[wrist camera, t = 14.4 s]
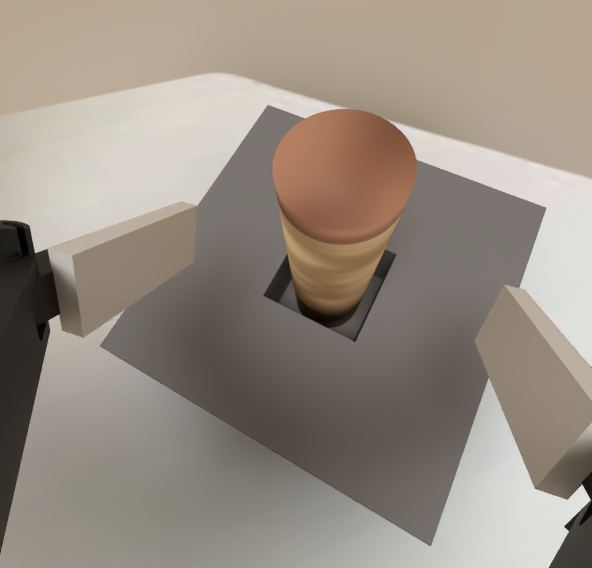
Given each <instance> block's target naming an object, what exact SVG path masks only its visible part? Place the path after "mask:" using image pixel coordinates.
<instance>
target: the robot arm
mask: <svg viewBox="0 0 592 568" xmlns="http://www.w3.org/2000/svg"><path fill="white" fill-rule="evenodd" d="M196 215H197V206H196V205H193V204H189V203H185V202H179V203H176V204H173V205H170V206H167V207H164V208H162V209H159V210H156V211H153V212H150V213H147V214H144V215H142V216H139V217H136V218H133V219H130V220H127V221H124V222H122V223H119V224H116V225H113V226H110V227H107V228H104V229H102V230H99V231H96V232H93V233H90V234H87V235H85V236H82V237H79V238H76V239H73V240H70V241H67V242H65V243H62V244H59V245H56V246H53V247H50V248H48V249H46V250H44V251H41V252H38V253H35V251H34V246H33V241H32V236H31V231H30V226H29V225H27V224H25V223H22V222H17V221H6V220H1V221H0V553H1V548H2V544H3V539H4V535H5V530H6V526H7V521H8V517H9V512H10V508H11V504H12V499H13V495H14V490H15V486H16V481H17V477H18V472H19V468H20V463H21V459H22V454H23V450H24V445H25V441H26V437H27V432H28V428H29V423H30V419H31V414H32V410H33V405H34V401H35V396H36V392H37V387H38V383H39V379H40V374H41V370H42V365H43V361H44V356H45V352H46V347H47V343H48V338H49V334H50V327H49V322H48V320H50V319H52V318H53V317H55V316H57V315H60V321H61V327H62V331H65V332H68V333H71V334H74V335H77V336H80V337H83V338H84V337H85V336H87V335H88V334H90V333H91V332H93V331H94V330H95V329H97V328H98V327H100V326H101V325H103V324H104V323H106V322H107V321H109V320H110V319H111V318H113V317H114V316H116V315H117V314H119V313H120V312H122V311H123V310H125V309H126V308H128V307H129V306H130V305H132V304H133V303H135V302H136V301H138V300H139V299H141V298H142V297H144V296H145V295H147V294H148V293H149V292H151V291H152V290H154V289H155V288H157V287H158V286H160V285H161V284H163V283H164V282H165V281H167V280H168V279H170V278H171V277H173V276H174V275H176V274H177V273H179V272H180V271H182V270H183V269H184V268H186V267H187V266H189V265H190V264H192V263H193V262H195V238H196ZM474 341H475V344H476V346H477V349H478V351H479V353H480V356H481V358H482V361H483V363H484V366H485V368H486V371H487V373H488V375H489V378H490V380H491V383H492V385H493V388H494V390H495V392H496V395H497V397H498V400H499V402H500V405H501V407H502V410H503V412H504V414H505V417H506V419H507V422H508V424H509V427H510V429H511V431H512V434H513V436H514V439H515V441H516V444H517V446H518V448H519V451H520V453H521V456H522V458H523V461H524V463H525V466H526V468H527V470H528V473H529V475H530V478H531V480H532V483H533V485H534V487H535V489H537V490H540V491H543V492H546V493H549V494H552V495H555V496H558V497H561V498H564V499H567V500H568V499H569V498H570V496H571V495H572V494H573V493H574V492H575V491H576V490H577V489H578V488H579V487H580V486H581V485H583V486H584V488H585V490H586V492H587V494H588V496H589V497H590V499H591V501H590V502H589V503H588V504H587V505H586V506H584V507H583V508H582V509H581V510H580V511H579V512H578V513H577V514H576V515H575V516H574V517H573V518H572V519H571V520H570V521H569V522H568V523H567V524H566V525H565V526H564V527H565V528H566V529H567V530H568V531H569V533H568V534H567V536H566V538H565V540H564V542H563V543H562V545H561V547H560V549H559V550H558V552H557V554H556V556H555V558H554V559H553V561H552V563H551V565H550V566H549V568H592V367H591V366H590V365H589V364H588V363H587V362H586V361H585V360H584V358H583V357H582V356H581V355H580V354H579V353H578V351H577V350H576V349H575V348H574V347H573V346H572V344H571V343H570V342H569V341H568V340H567V339H566V337H565V336H564V335H563V334H562V333H561V332H560V330H559V329H558V328H557V327H556V326H555V324H554V323H553V322H552V321H551V320H550V319H549V317H548V316H547V315H546V314H545V313H544V312H543V310H542V309H541V308H540V307H539V306H538V305H537V303H536V302H535V301H534V300H533V299H532V298H531V296H530V295H529V294H528V293H527V292H526V291H525V290H524V289H520V288H516V287H512V286H508V285H504V286H503V288H502V290H501V291H500V293H499V295H498V297H497V299H496V301H495V303H494V305H493V307H492V308H491V310H490V312H489V314H488V316H487V318H486V320H485V322H484V323H483V325H482V327H481V329H480V331H479V333H478V335H477V337H476V338H475V340H474Z"/></svg>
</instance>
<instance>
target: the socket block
mask: <svg viewBox="0 0 592 568" xmlns="http://www.w3.org/2000/svg"><path fill="white" fill-rule="evenodd" d="M304 119H305V118H302V117H299V116H296V115H294V114H291V113H288V112H286V111H283V110H280V109H278V108H275V107H272V106H269V105H268V106H267V107H266V108H265V110H264V111H263V113H262V114H261V116H260V117H259V119H258V120H257V121H256V123H255V124H254V126H253V127H252V129H251V130H250V131H249V133H248V134H247V136H246V137H245V139H244V140H243V141H242V143H241V144H240V146H239V147H238V149H237V150H236V152H235V153H234V154H233V156H232V157H231V159H230V160H229V162H228V163H227V164H226V166H225V167H224V169H223V170H222V172H221V173H220V174H219V176H218V177H217V179H216V180H215V182H214V183H213V185H212V186H211V187H210V189H209V190H208V192H207V193H206V195H205V196H204V197H203V199H202V200H201V202H200V203H199V205H198V206H197V215H196V238H195V262H193V263H192V264H190V265H189V266H187V267H186V268H184V269H183V270H182V271H180V272H179V273H177V274H176V275H174V276H173V277H171V278H170V279H168V280H167V281H165V282H164V283H163V284H161V285H160V286H158V287H157V288H155V289H154V290H152V291H151V292H149V293H148V294H147V295H145V296H144V297H142V298H141V299H139V300H138V301H136V302H135V303H133V304H132V305H130V306H129V307H128V308H126V309H125V311H124V312H123V314H122V315H121V317H120V318H119V319H118V321H117V322H116V324H115V325H114V327H113V328H112V329H111V331H110V332H109V334H108V335H107V337H106V338H105V340H104V341H103V342H102V344H101V345H100V347H102V348H104V349H105V350H107V351H109V352H110V353H112V354H114V355H115V356H117V357H119V358H120V359H122V360H123V361H125V362H127V363H128V364H130V365H132V366H133V367H135V368H137V369H138V370H140V371H142V372H143V373H145V374H147V375H148V376H150V377H152V378H153V379H155V380H157V381H158V382H160V383H161V384H163V385H165V386H166V387H168V388H170V389H171V390H173V391H175V392H176V393H178V394H180V395H181V396H183V397H185V398H186V399H188V400H190V401H191V402H193V403H195V404H196V405H198V406H199V407H201V408H203V409H204V410H206V411H208V412H209V413H211V414H213V415H214V416H216V417H218V418H219V419H221V420H223V421H224V422H226V423H228V424H229V425H231V426H233V427H234V428H236V429H238V430H239V431H241V432H242V433H244V434H246V435H247V436H249V437H251V438H252V439H254V440H256V441H257V442H259V443H261V444H262V445H264V446H266V447H267V448H269V449H271V450H272V451H274V452H276V453H277V454H279V455H280V456H282V457H284V458H285V459H287V460H289V461H290V462H292V463H294V464H295V465H297V466H299V467H300V468H302V469H304V470H305V471H307V472H309V473H310V474H312V475H314V476H315V477H317V478H318V479H320V480H322V481H323V482H325V483H327V484H328V485H330V486H332V487H333V488H335V489H337V490H338V491H340V492H342V493H343V494H345V495H347V496H348V497H350V498H352V499H353V500H355V501H356V502H358V503H360V504H361V505H363V506H365V507H366V508H368V509H370V510H371V511H373V512H375V513H376V514H378V515H380V516H381V517H383V518H385V519H386V520H388V521H390V522H391V523H393V524H395V525H396V526H398V527H399V528H401V529H403V530H404V531H406V532H408V533H409V534H411V535H413V536H414V537H416V538H418V539H419V540H421V541H423V542H424V543H426V544H428V545H429V546H431V544H432V541H433V538H434V536H435V533H436V530H437V527H438V524H439V521H440V518H441V515H442V512H443V509H444V506H445V503H446V500H447V497H448V495H449V492H450V489H451V486H452V483H453V480H454V477H455V474H456V471H457V468H458V465H459V462H460V459H461V456H462V454H463V451H464V448H465V445H466V442H467V439H468V436H469V433H470V430H471V427H472V424H473V421H474V418H475V416H476V413H477V410H478V407H479V404H480V401H481V398H482V395H483V392H484V389H485V386H486V383H487V380H488V377H489V375H488V373H487V371H486V368H485V366H484V363H483V361H482V358H481V356H480V353H479V351H478V349H477V346H476V344H475V341H474V340H475V338H476V337H477V335H478V333H479V331H480V329H481V327H482V325H483V323H484V322H485V320H486V318H487V316H488V314H489V312H490V310H491V308H492V307H493V305H494V303H495V301H496V299H497V297H498V295H499V293H500V291H501V290H502V288H503V286H504V285H508V286H512V287H516V288H519V287H520V284H521V281H522V278H523V275H524V272H525V269H526V266H527V263H528V260H529V257H530V255H531V252H532V249H533V246H534V243H535V240H536V237H537V234H538V231H539V228H540V225H541V222H542V219H543V216H544V214H545V211H546V208H545V207H543V206H540V205H537V204H534V203H532V202H529V201H526V200H524V199H521V198H518V197H516V196H513V195H510V194H507V193H505V192H502V191H499V190H497V189H494V188H491V187H488V186H486V185H483V184H480V183H478V182H475V181H472V180H470V179H467V178H464V177H461V176H459V175H456V174H453V173H451V172H448V171H445V170H442V169H440V168H437V167H434V166H432V165H429V164H426V163H424V162H421V161H418V160H416V161H417V177H416V182H415V185H414V188H413V190H412V192H411V195H410V197H409V199H408V201H407V203H406V205H405V207H404V210H403V212H402V214H401V216H400V218H399V220H398V222H397V225H396V227H395V229H394V231H393V233H392V235H391V237H390V240H389V242H388V244H387V246H386V248H385V250H384V252H383V254H382V257H381V259H380V261H379V263H378V265H377V267H376V269H375V272H374V274H373V276H372V278H371V280H370V282H369V284H368V287H367V289H366V291H365V293H364V295H363V297H362V299H361V302H360V304H359V306H358V308H357V310H356V312H355V314H354V315H353V317H352V318H351V319H350V320H349V321H347V322H346V323H344V324H343V325H340V326H338V327H334V328H326V327H324V326H322V325H320V324H318V323H316V322H314V321H312V320H310V319H308V318H306V317H304V316H303V315H302V314H301V312H300V311H299V308H298V305H297V301H296V295H295V290H294V285H293V280H292V274H291V269H290V264H289V258H288V253H287V248H286V243H285V237H284V232H283V227H282V222H281V216H280V211H279V206H278V200H277V195H276V190H275V185H274V179H273V171H272V167H273V159H274V154H275V152H276V149H277V147H278V145H279V143H280V141H281V140H282V138H283V137H284V136H285V134H286V133H287V132H288V131H289V130H290V129H291V128H292V127H294V126H295V125H296V124H298V123H299V122H301V121H302V120H304Z"/></svg>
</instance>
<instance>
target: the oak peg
mask: <svg viewBox="0 0 592 568" xmlns="http://www.w3.org/2000/svg"><path fill="white" fill-rule="evenodd" d="M272 171H273V179H274V185H275V190H276V195H277V200H278V206H279V211H280V216H281V222H282V227H283V232H284V237H285V243H286V248H287V253H288V258H289V264H290V269H291V274H292V280H293V285H294V290H295V295H296V301H297V305H298V308H299V311H300V312H301V314H302V315H303V316H304V317H306V318H308V319H310V320H312V321H314V322H316V323H318V324H320V325H322V326H324V327H326V328H334V327H338V326H340V325H343V324H344V323H346V322H347V321H349V320H350V319H351V318H352V317H353V315H354V314H355V312H356V310H357V308H358V306H359V304H360V302H361V299H362V297H363V295H364V293H365V291H366V289H367V287H368V284H369V282H370V280H371V278H372V276H373V274H374V272H375V269H376V267H377V265H378V263H379V261H380V259H381V257H382V254H383V252H384V250H385V248H386V246H387V244H388V242H389V240H390V237H391V235H392V233H393V231H394V229H395V227H396V225H397V222H398V220H399V218H400V216H401V214H402V212H403V210H404V207H405V205H406V203H407V201H408V199H409V197H410V195H411V192H412V190H413V188H414V185H415V182H416V177H417V161H416V157H415V153H414V150H413V148H412V146H411V144H410V142H409V141H408V139H407V138H406V137H405V135H404V134H403V133H402V132H401V131H400V130H399V129H398V128H397V127H396V126H394V125H393V124H391V123H390V122H389V121H387V120H385V119H383V118H381V117H379V116H377V115H374V114H371V113H368V112H365V111H359V110H351V109H337V110H329V111H325V112H321V113H318V114H315V115H312V116H310V117H308V118H306V119H304V120H302V121H301V122H299V123H298V124H296V125H295V126H294V127H292V128H291V129H290V130H289V131H288V132H287V133H286V134H285V136H284V137H283V138H282V140H281V141H280V143H279V145H278V147H277V149H276V152H275V154H274V159H273V167H272Z"/></svg>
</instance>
